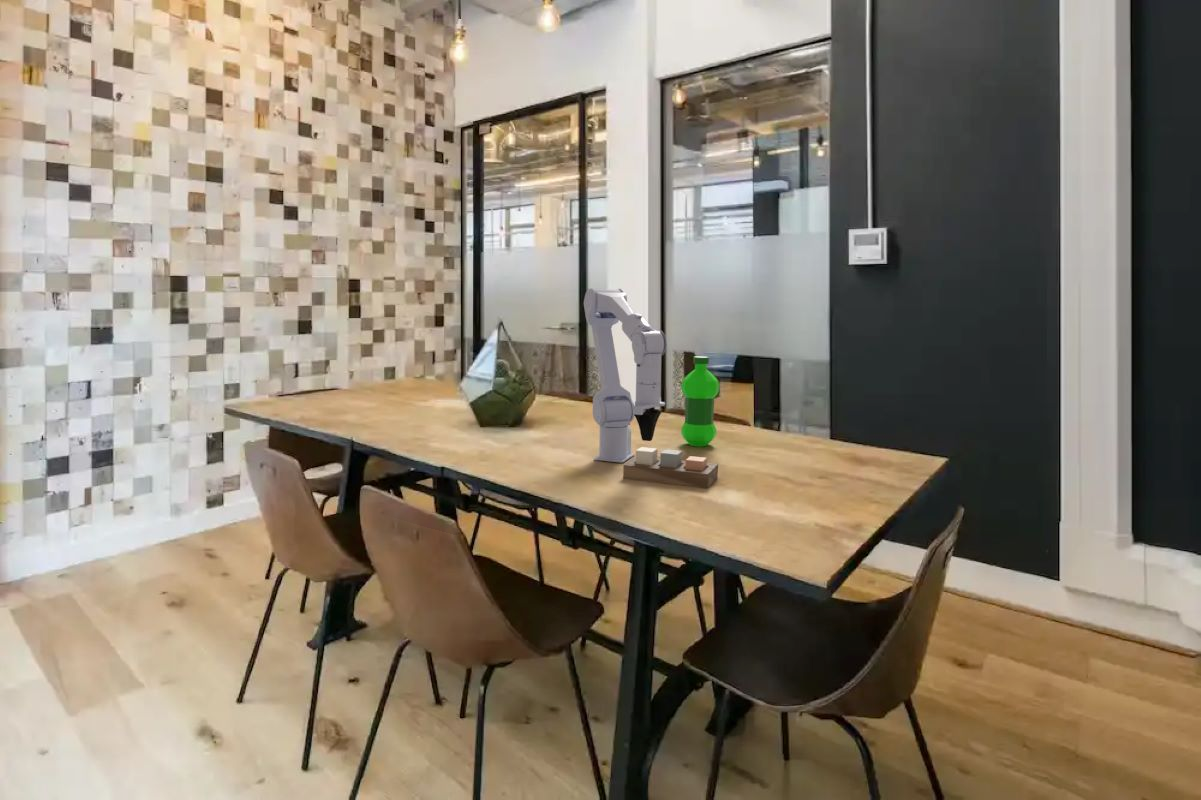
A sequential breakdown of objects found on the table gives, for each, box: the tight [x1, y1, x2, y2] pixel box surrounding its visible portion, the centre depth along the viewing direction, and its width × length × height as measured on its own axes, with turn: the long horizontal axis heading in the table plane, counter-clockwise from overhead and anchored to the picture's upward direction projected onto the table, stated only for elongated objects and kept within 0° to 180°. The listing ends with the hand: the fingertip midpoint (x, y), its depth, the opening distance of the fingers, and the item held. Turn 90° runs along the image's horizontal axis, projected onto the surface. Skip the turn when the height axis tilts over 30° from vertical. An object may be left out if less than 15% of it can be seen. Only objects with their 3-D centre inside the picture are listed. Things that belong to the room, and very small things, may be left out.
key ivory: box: [635, 446, 658, 465], centre depth 168 cm, size 4×4×4 cm
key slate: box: [659, 449, 683, 468], centre depth 166 cm, size 4×4×4 cm
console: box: [622, 456, 719, 489], centre depth 167 cm, size 10×20×3 cm, turn 68°
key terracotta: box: [685, 455, 708, 471], centre depth 164 cm, size 4×4×4 cm
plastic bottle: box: [680, 355, 720, 447], centre depth 201 cm, size 10×10×25 cm
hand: (647, 440), depth 168 cm, fingers closed
